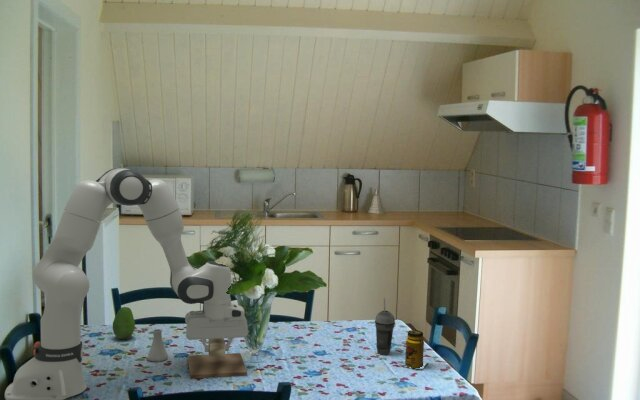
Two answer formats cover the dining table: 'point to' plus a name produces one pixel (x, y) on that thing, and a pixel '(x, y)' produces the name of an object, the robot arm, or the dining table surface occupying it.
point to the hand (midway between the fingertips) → (216, 350)
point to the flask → (157, 347)
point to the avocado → (124, 323)
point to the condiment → (414, 349)
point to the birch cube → (217, 348)
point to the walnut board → (216, 366)
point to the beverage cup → (384, 331)
